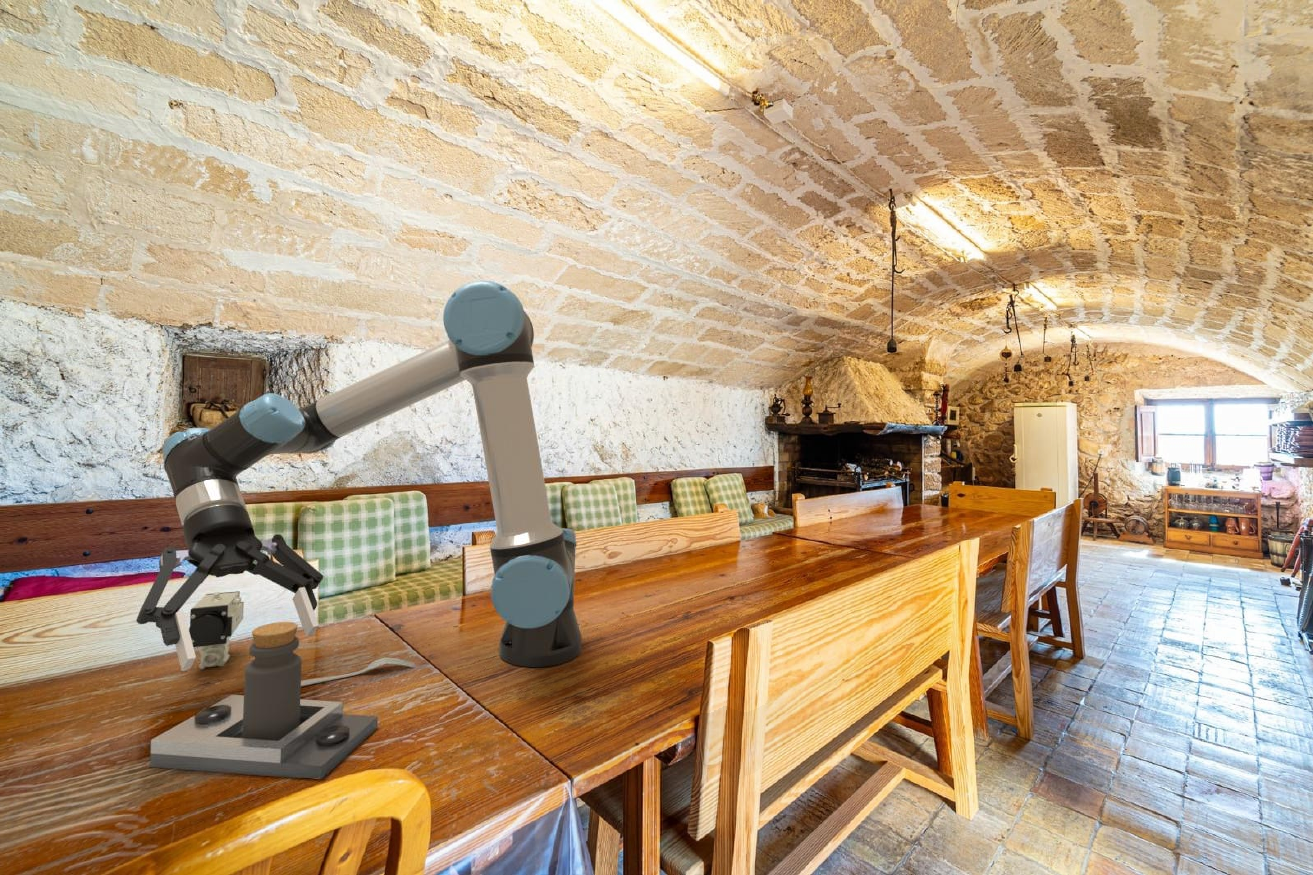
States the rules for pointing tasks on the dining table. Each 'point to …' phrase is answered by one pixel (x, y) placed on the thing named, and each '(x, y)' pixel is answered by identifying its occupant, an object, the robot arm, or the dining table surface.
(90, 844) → the dining table surface
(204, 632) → the pneumatic valve
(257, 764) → the grey slotted fixture base
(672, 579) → the dining table surface
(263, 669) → the bottle
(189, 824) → the dining table surface
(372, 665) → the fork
